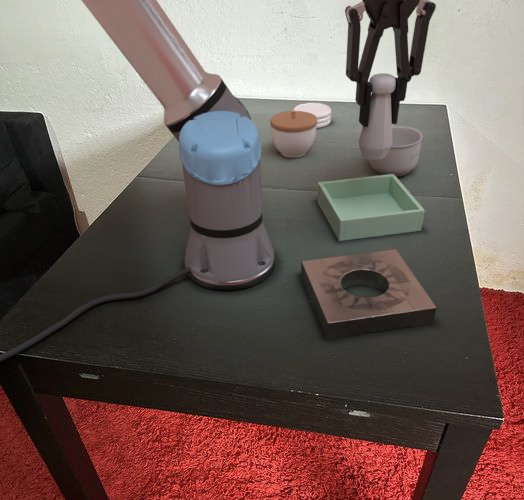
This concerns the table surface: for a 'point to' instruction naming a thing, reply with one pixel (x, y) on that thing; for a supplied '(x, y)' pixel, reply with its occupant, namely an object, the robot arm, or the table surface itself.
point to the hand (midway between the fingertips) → (377, 122)
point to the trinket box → (293, 132)
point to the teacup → (400, 152)
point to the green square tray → (369, 207)
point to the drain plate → (360, 308)
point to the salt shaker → (378, 119)
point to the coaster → (317, 112)
